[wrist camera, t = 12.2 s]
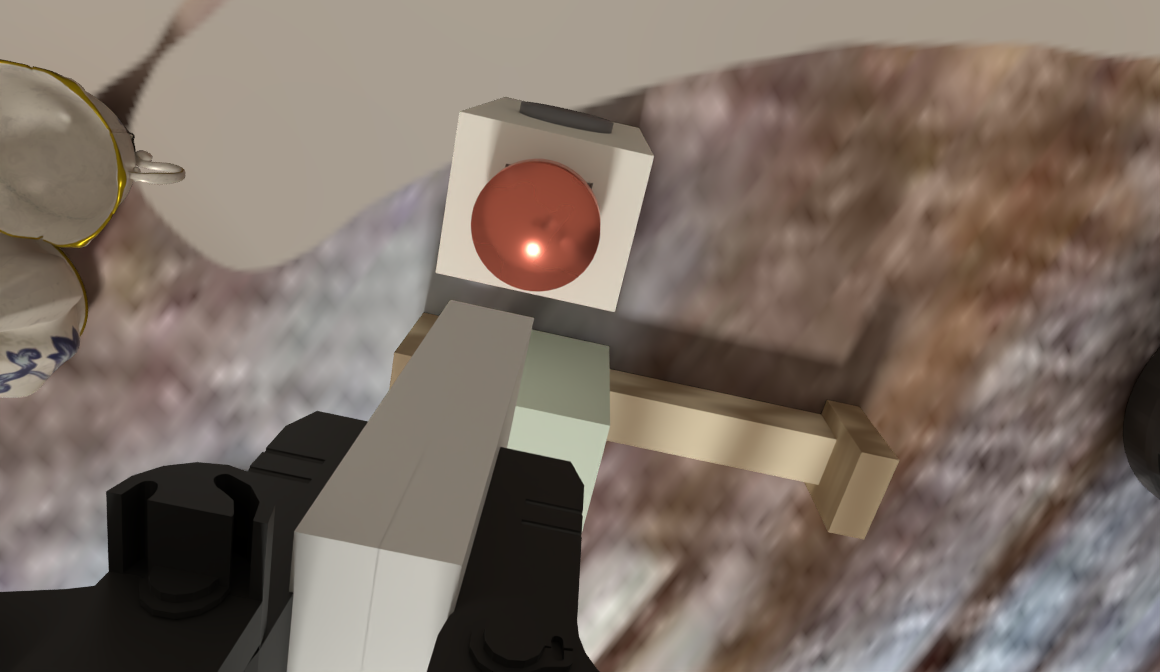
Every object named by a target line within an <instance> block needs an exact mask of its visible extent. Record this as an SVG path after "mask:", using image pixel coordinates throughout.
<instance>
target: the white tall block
mask: <svg viewBox="0 0 1160 672" xmlns="http://www.w3.org/2000/svg"><path fill="white" fill-rule="evenodd" d="M527 159H547V160H552V161H555V162H559V163H561V164H563V165H566V166H567V167H569V168H571V169H572V170H574V171H575V172H576V173H578V174H579V175H580V176H581V177H582V178H583V179H584V180H585V181H586V182H587V184H588V185H589V187H590V188H591V189H592V191H593V193H594V195H595V197H596V200H597V203H598V206H599V210H600V218H601V225H600V240H599V245H598V248H597V251H596V254H595V256H594V258H593V260H592V261H591V263H590V265H589V266H588V267H587V269H586V270H585V271H584V272H583V273H582V274H581V275H580V276H579V277H578V278H576V279H575V280H573V281H572V282H571V283H569V284H567V285H565V286H563V287H560V288H557V289H554V290H549V291H541V292H537V291H526V290H521V289H518V288H515V287H512V286H510V285H508V284H506V283H504V282H503V281H501V280H499V279H498V278H497V277H495V276H494V275H493V274H492V273H491V272H490V271H489V270H488V269H487V268H486V266H485V265H484V264H483V263H482V261H481V259H480V258H479V256H478V254H477V252H476V249H475V247H474V244H473V240H472V234H471V216H472V211H473V207H474V204H475V202H476V199H477V197H478V196H479V194H480V192H481V191H482V189H483V188H484V186H485V185H486V184H487V183H488V182H489V181H490V180H491V179H492V178H493V177H494V176H495V175H496V174H497V173H498V172H500V171H501V170H502V169H504V168H505V167H507V166H509V165H511V164H513V163H516V162H518V161H522V160H527ZM653 159H654V155H653V153H652V151H651V150H650V148H649V146H648V144H647V142H646V140H645V138H644V137H643V135H642V133H641V131H640V129H639V128H637V127H633V126H628V125H624V124H620V123H615V122H611V121H609V120H606V119H603V118H600V117H596V116H593V115H589V114H585V113H581V112H577V111H573V110H569V109H564V108H560V107H555V106H550V105H545V104H539V103H533V102H525V101H521V100H516V99H512V98H508V97H504V98H500V99H497V100H494V101H491V102H488V103H485V104H482V105H478V106H476V107H472V108H469V109H466V110H463V111H460V114H459V120H458V127H457V133H456V140H455V146H454V154H453V160H452V166H451V173H450V180H449V186H448V193H447V200H446V206H445V213H444V220H443V227H442V233H441V240H440V247H439V253H438V260H437V267H436V273H439V274H443V275H448V276H452V277H457V278H461V279H466V280H471V281H475V282H480V283H484V284H489V285H493V286H498V287H502V288H507V289H512V290H516V291H521V292H525V293H530V294H534V295H539V296H544V297H548V298H553V299H557V300H562V301H566V302H571V303H575V304H580V305H585V306H589V307H594V308H598V309H603V310H607V311H612V312H615V309H616V305H617V301H618V297H619V293H620V289H621V285H622V281H623V277H624V274H625V270H626V266H627V262H628V258H629V254H630V250H631V246H632V242H633V238H634V234H635V230H636V226H637V222H638V218H639V214H640V210H641V206H642V202H643V198H644V194H645V190H646V186H647V182H648V178H649V174H650V170H651V166H652V162H653Z"/></svg>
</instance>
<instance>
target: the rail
mask: <svg viewBox="0 0 1160 672" xmlns="http://www.w3.org/2000/svg"><path fill="white" fill-rule="evenodd" d="M438 317H439V316H438V315H433V314H429V313H423V314H422V316H421V317H420V318H419V320H418V321H417V322H416V324H415V325H414V326H413V328H412V329H411V331H410V332H409V333H408V335H407V336H406V337H405V339H404V340H403V341H402V343H401V344H400V346H399V347H398V348H397V350H396V351H395V352H394V359H393V366H392V374H391V381H390V388H391V387H392V385H393V384H394V382H395V381H396V379H397V378H398V377H399V375H400V374H401V372H402V371H403V369H404V368H405V366H406V365H407V363H408V362H409V360H410V359H411V357H412V356H413V354H414V353H415V351H416V350H417V348H418V347H419V345H420V344H421V342H422V341H423V339H424V338H425V336H426V335H427V333H428V332H429V330H430V329H431V327H432V326H433V325H434V323H435V322H436V320H437V319H438ZM609 375H610V428H609V432H608V436H607V441H612V442H617V443H622V444H626V445H631V446H636V447H641V448H645V449H650V450H655V451H660V452H664V453H669V454H674V455H679V456H683V457H688V458H693V459H698V460H702V461H707V462H712V463H717V464H721V465H726V466H731V467H736V468H740V469H745V470H750V471H755V472H759V473H764V474H769V475H774V476H778V477H783V478H788V479H793V480H797V481H802V482H805V485H806V487H807V489H808V491H809V493H810V495H811V497H812V499H813V501H814V503H815V505H816V508H817V510H818V512H819V514H820V516H821V518H822V520H823V522H824V524H825V526H826V529H827V531H828V532H831V533H836V534H840V535H845V536H850V537H855V538H860V539H864V538H865V536H866V534H867V532H868V529H869V527H870V525H871V523H872V520H873V518H874V516H875V514H876V511H877V509H878V507H879V505H880V503H881V500H882V498H883V496H884V494H885V491H886V489H887V487H888V485H889V482H890V480H891V478H892V476H893V473H894V471H895V469H896V467H897V464H898V462H899V459H898V458H897V456H896V455H895V454H894V452H893V451H892V450H891V448H890V447H889V446H888V444H887V443H886V442H885V440H884V439H883V438H882V436H881V435H880V434H879V432H878V431H877V430H876V428H875V427H874V426H873V424H872V423H871V422H870V420H869V419H868V418H867V416H866V415H865V413H864V412H863V411H862V409H861V408H860V407H858V406H853V405H849V404H844V403H840V402H835V401H830V400H827V401H826V403H825V406H824V409H823V411H822V414H816V413H812V412H807V411H802V410H798V409H793V408H788V407H784V406H779V405H775V404H770V403H765V402H761V401H756V400H751V399H747V398H742V397H737V396H733V395H728V394H723V393H719V392H714V391H710V390H705V389H700V388H696V387H691V386H686V385H682V384H677V383H672V382H668V381H663V380H658V379H654V378H649V377H645V376H640V375H635V374H631V373H626V372H621V371H617V370H612V369H609ZM389 390H390V389H389Z"/></svg>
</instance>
